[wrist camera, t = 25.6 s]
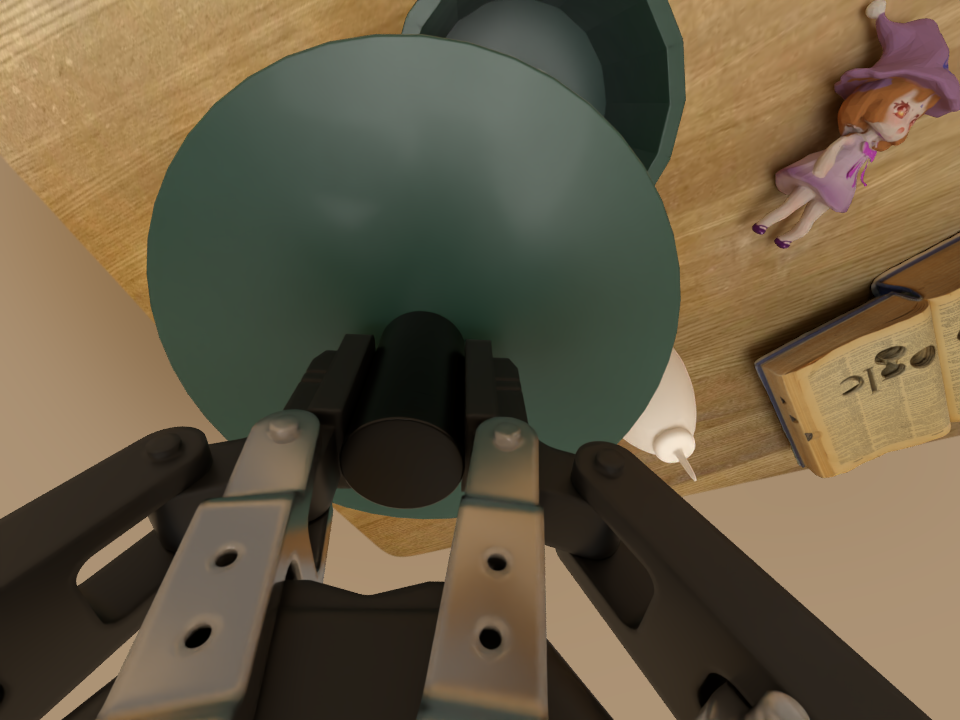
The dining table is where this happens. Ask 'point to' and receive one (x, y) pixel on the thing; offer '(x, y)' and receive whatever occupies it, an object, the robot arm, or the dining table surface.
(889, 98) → the figurine
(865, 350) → the book
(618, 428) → the lid
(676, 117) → the pot
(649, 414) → the white rubber bulb blower
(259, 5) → the dining table surface
